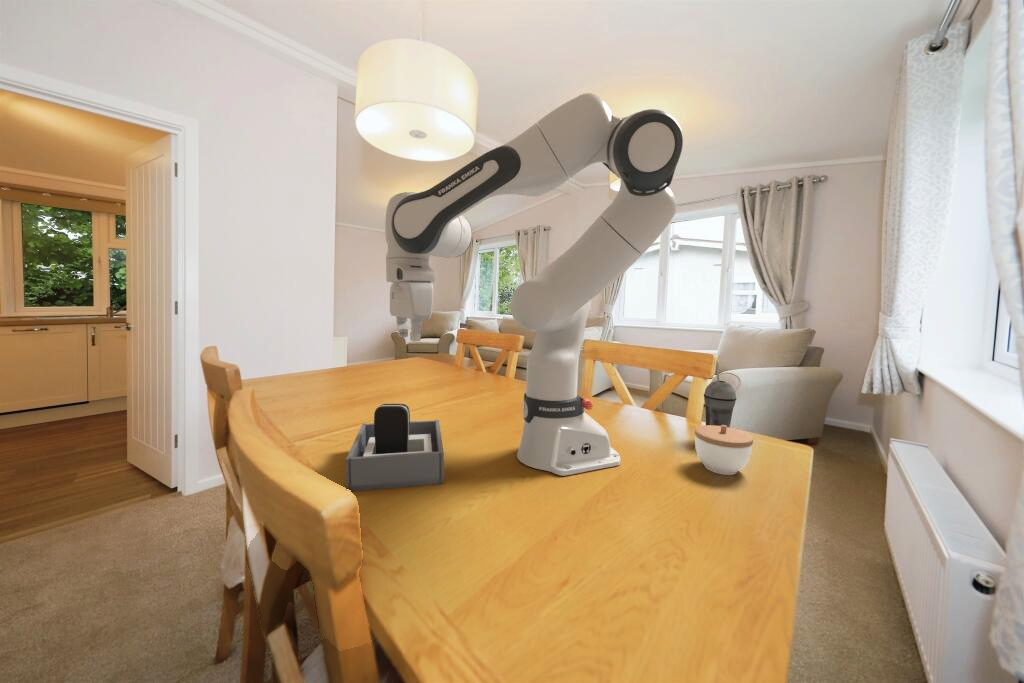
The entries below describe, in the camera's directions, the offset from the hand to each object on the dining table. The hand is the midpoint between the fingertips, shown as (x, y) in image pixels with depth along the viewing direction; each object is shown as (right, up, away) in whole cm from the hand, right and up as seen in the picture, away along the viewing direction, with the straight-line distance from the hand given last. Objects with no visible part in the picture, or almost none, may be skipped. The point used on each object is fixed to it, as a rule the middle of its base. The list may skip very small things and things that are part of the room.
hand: (409, 339), depth 84 cm
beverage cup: (+74, -26, +14) cm, 80 cm away
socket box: (-1, -26, -3) cm, 26 cm away
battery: (-3, -25, -2) cm, 25 cm away
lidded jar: (+66, -28, -2) cm, 72 cm away
